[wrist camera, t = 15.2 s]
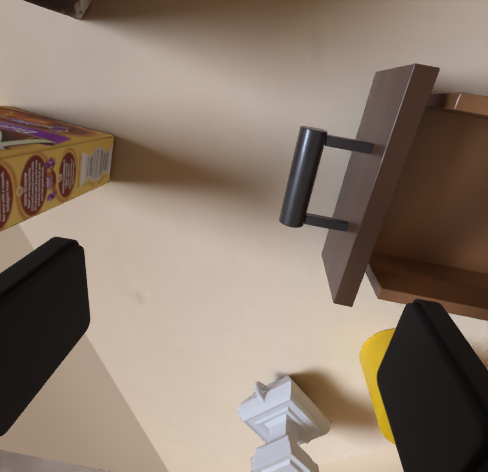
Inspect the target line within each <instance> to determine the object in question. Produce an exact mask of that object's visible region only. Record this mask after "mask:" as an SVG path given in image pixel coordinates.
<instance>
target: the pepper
mask: <svg viewBox="0 0 488 472" xmlns="http://www.w3.org/2000/svg"><path fill="white" fill-rule="evenodd" d="M394 331H395V329H389V330H385V331H381V332H379V333H377V334H375V335H373V336H372V337H370V338H369V339H368V340H367V341H366V342H365V343H364V345H363V346H362V348H361V351H360V363H361V366H362V370H363V373H364V376H365V380H366V383H367V387H368V390H369V394H370V397H371V401H372V404H373V407H374V411H375V414H376V418H377V421H378V425H379V428H380V430H381V432H382V434H383V435H384V436H385V438H386V439H388V440H389V441H390V442H392V443H393V444H395V441H394V437H393V434H392V431H391V428H390V424H389V421H388V418H387V415H386V411H385V408H384V405H383V401H382V398H381V395H380V392H379V388H378V385H377V371H378V369H379V366H380V364H381V362H382V359H383V357H384V355H385V352H386V350H387V348H388V345H389V343H390V341H391V338H392V336H393V334H394ZM395 445H396V444H395Z"/></svg>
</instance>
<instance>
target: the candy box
mask: <svg viewBox="0 0 488 472" xmlns="http://www.w3.org/2000/svg"><path fill="white" fill-rule="evenodd" d="M113 143H114V137H113V135H110V134H106V133H102V132H98V131H94V130H90V129H87V128H83V127H79V126H75V125H72V124H68V123H65V122H61V121H58V120H54V119H50V118H47V117H44V116H40V115H37V114H33V113H29V112H26V111H22V110H19V109H16V108H12V107H9V106H0V231H2V230H5V229H7V228H9V227H11V226H14V225H16V224H18V223H20V222H22V221H25V220H27V219H29V218H31V217H33V216H36V215H38V214H40V213H42V212H44V211H47V210H49V209H51V208H54V207H56V206H58V205H60V204H63V203H64V202H67V201H69V200H71V199H74V198H76V197H78V196H80V195H82V194H84V193H87V192H89V191H91V190H93V189H95V188H97V187H99V186H102V185H104V184H106V183H108V182H109V180H110V169H111V159H112V151H113Z"/></svg>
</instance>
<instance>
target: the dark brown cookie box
mask: <svg viewBox="0 0 488 472" xmlns="http://www.w3.org/2000/svg"><path fill="white" fill-rule="evenodd" d="M24 1H27V2H30V3H33V4H35V5H38V6H41V7H44V8H47V9H50V10H53V11H56V12H59V13H62V14H65V15H68V16H70V17H73V18H75V19H81V18H82V17H83V15H84V13H85V12H86V10H87V9H88V7H89V5H90V4H91V2H92V1H93V0H24Z"/></svg>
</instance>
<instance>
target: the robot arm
mask: <svg viewBox="0 0 488 472" xmlns="http://www.w3.org/2000/svg"><path fill="white" fill-rule="evenodd" d="M89 324H90V310H89V299H88V288H87V277H86V266H85V255H84V249H83V247H82V246H79V243H78V242H77V241H76V240H72V239H67V238H61V237H53V238H51V239H50V240H49V241H47V242H46V243H44V244H43V245H41V246H40V247H38V248H37V249H35V250H34V251H32V252H31V253H30V254H28V255H27V256H25V257H24V258H22V259H21V260H19V261H18V262H16V263H15V264H13V265H12V266H11V267H9V268H8V269H6V270H5V271H3V272H2V273H0V436H2V435H4V434H5V433H6V432H7V431H8V430H9V429H10V427H11V426H12V425H13V424H14V422H15V421H16V420H17V418H18V417H19V416H20V415H21V413H22V412H23V411H24V409H25V408H26V407H27V406H28V404H29V403H30V402H31V401H32V399H33V398H34V397H35V395H36V394H37V393H38V392H39V390H40V389H41V388H42V387H43V385H44V384H45V383H46V382H47V380H48V379H49V378H50V376H51V375H52V374H53V373H54V371H55V370H56V369H57V368H58V366H59V365H60V364H61V362H62V361H63V360H64V359H65V357H66V356H67V355H68V354H69V352H70V351H71V350H72V349H73V347H74V346H75V345H76V343H77V342H78V341H79V340H80V338H81V337H82V336H83V335H84V333H85V332H86V331H87V329H88V327H89ZM377 385H378V388H379V392H380V395H381V398H382V401H383V405H384V408H385V411H386V415H387V418H388V421H389V424H390V428H391V431H392V434H393V437H394V441H395V444H396V447H397V450H398V454H399V457H400V460H401V463H402V467H403V470H404V472H488V370H487V369H486V367H485V366H484V364H483V363H482V362H481V360H480V359H479V357H478V356H477V354H476V353H475V352H474V350H473V349H472V347H471V346H470V344H469V343H468V342H467V340H466V339H465V337H464V336H463V334H462V333H461V332H460V330H459V329H458V327H457V326H456V324H455V323H454V322H453V320H452V319H451V317H450V316H449V314H448V313H447V312H446V310H445V309H444V307H443V306H442V305H441V304H440V303H439V302H434V301H428V300H422V299H415V300H414V301H413V303H408V304H406V306H405V308H404V310H403V313H402V315H401V317H400V320H399V322H398V324H397V327H396V329H395V331H394V334H393V336H392V338H391V341H390V343H389V345H388V348H387V350H386V352H385V355H384V357H383V359H382V362H381V364H380V366H379V369H378V371H377ZM0 472H111V471H106V470H101V469H96V468H91V467H85V466H81V465H75V464H70V463H65V462H60V461H55V460H50V459H44V458H39V457H34V456H29V455H23V454H19V453H13V452H8V451H3V450H0Z"/></svg>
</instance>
